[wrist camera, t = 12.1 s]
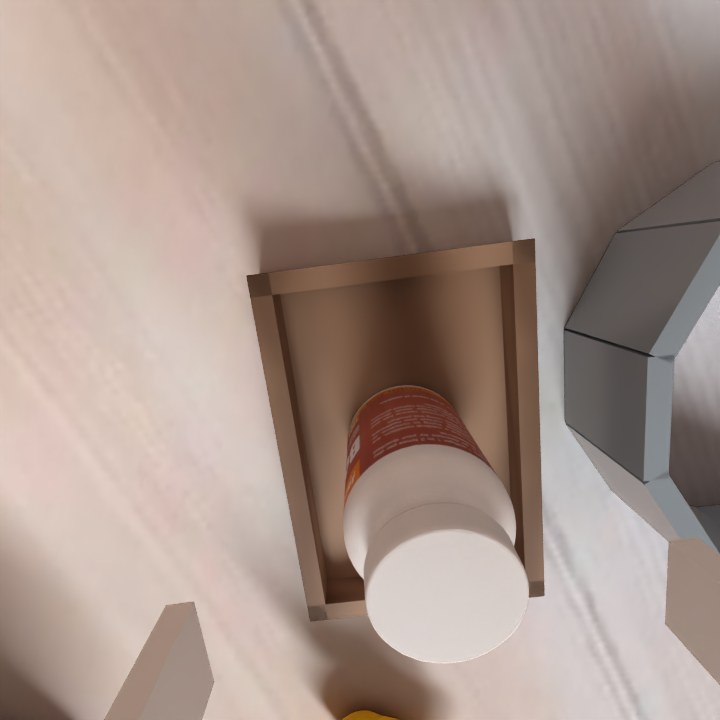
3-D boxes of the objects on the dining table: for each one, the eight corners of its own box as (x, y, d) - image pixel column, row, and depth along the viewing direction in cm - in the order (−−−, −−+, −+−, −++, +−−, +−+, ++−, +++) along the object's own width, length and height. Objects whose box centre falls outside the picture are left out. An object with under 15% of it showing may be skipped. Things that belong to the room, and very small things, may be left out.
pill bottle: (334, 398, 22) (309, 530, 11) (448, 369, 21) (538, 477, 11) (363, 499, 23) (368, 705, 12) (471, 474, 23) (571, 662, 12)
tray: (314, 585, 25) (310, 621, 23) (259, 274, 21) (246, 275, 19) (525, 562, 25) (544, 595, 23) (513, 241, 21) (534, 238, 18)
